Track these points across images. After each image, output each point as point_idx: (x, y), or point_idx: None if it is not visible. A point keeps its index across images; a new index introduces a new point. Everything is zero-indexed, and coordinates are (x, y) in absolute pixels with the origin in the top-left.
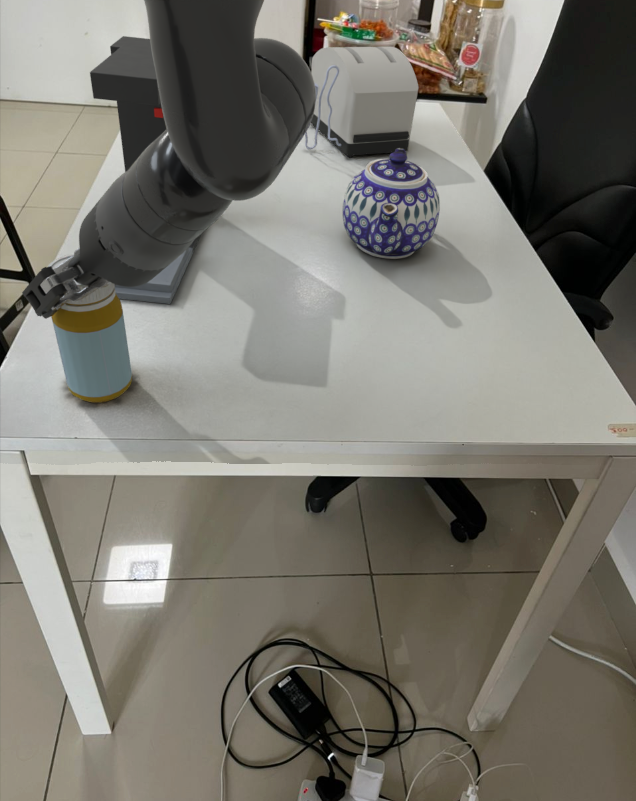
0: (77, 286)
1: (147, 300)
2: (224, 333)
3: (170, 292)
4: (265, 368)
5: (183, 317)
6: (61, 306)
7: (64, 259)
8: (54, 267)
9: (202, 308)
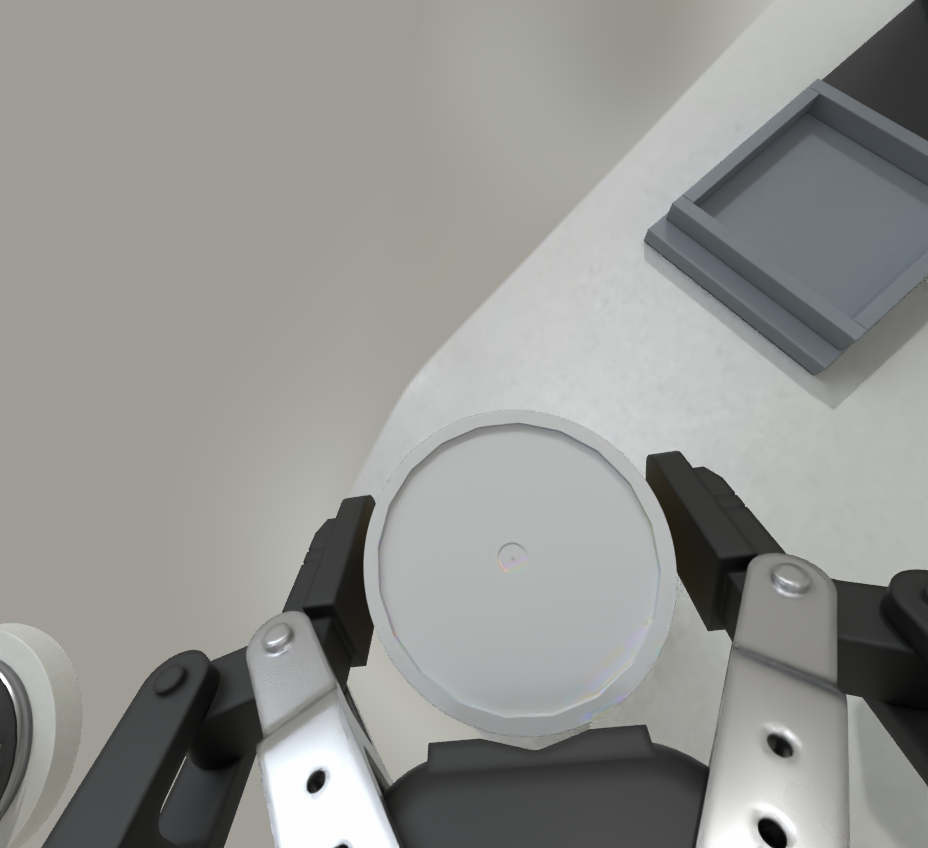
0: (383, 791)
1: (767, 335)
2: (884, 565)
3: (840, 349)
4: (913, 778)
5: (815, 440)
6: (369, 647)
7: (502, 432)
8: (433, 469)
9: (885, 436)
